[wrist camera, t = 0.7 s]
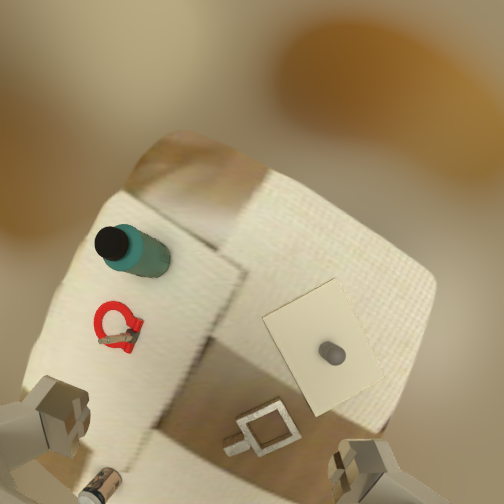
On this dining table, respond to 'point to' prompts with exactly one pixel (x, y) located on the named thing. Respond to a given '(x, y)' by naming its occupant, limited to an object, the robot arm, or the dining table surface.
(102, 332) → the tow hook
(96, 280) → the dining table surface
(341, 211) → the dining table surface
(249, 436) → the steel link
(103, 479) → the beer can
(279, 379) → the dining table surface
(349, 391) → the board
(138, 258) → the beverage bottle
